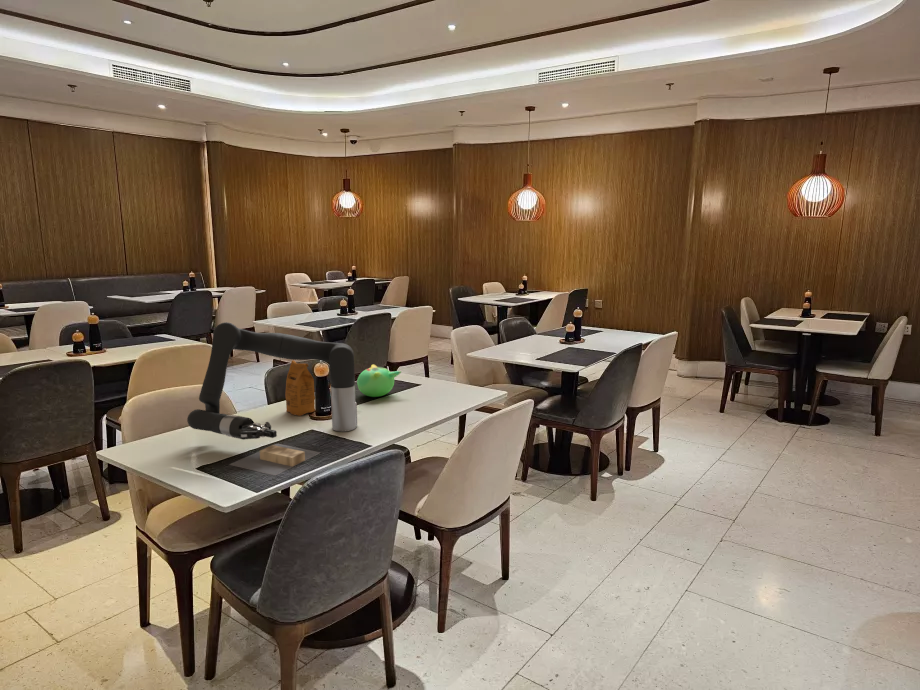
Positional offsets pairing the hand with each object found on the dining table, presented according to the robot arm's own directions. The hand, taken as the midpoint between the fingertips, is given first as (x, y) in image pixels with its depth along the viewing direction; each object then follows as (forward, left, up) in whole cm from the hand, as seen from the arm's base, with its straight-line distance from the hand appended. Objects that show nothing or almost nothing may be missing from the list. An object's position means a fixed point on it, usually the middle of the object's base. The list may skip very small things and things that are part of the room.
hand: (275, 434), depth 191 cm
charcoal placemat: (0, 0, -9) cm, 9 cm away
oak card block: (0, -4, -7) cm, 8 cm away
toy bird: (-82, -15, -9) cm, 84 cm away
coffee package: (-46, -30, -9) cm, 56 cm away
